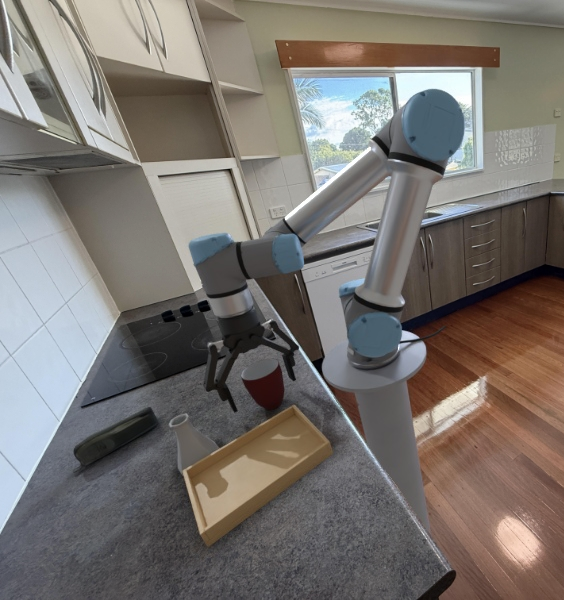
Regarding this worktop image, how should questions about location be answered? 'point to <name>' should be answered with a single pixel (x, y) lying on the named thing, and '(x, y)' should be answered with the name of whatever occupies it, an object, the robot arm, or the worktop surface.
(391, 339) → the robot arm
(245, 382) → the mug
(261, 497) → the tray
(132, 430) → the dark green pencil case
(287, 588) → the worktop surface
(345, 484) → the worktop surface
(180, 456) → the flask
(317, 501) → the worktop surface
